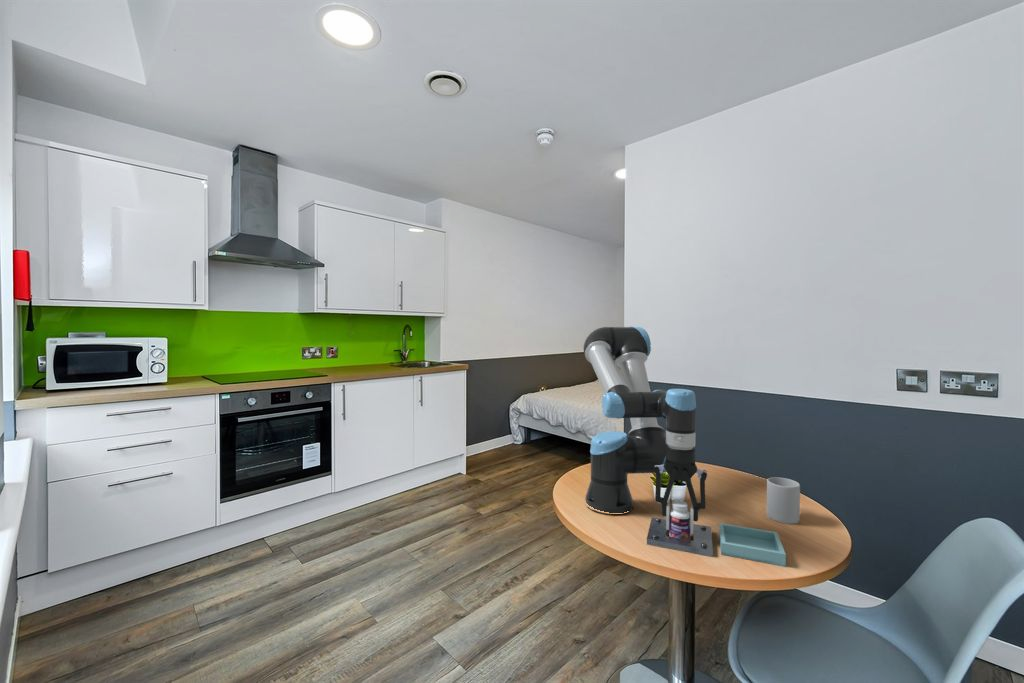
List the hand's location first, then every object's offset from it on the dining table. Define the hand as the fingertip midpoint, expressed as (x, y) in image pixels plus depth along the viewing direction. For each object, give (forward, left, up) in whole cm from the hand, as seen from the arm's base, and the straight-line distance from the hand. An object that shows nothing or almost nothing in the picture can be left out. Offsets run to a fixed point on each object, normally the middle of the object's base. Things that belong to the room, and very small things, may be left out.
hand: (679, 529), depth 116 cm
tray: (+17, +1, -2) cm, 17 cm away
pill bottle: (0, 0, -3) cm, 3 cm away
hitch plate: (0, 0, -2) cm, 2 cm away
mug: (+28, +27, -3) cm, 39 cm away
